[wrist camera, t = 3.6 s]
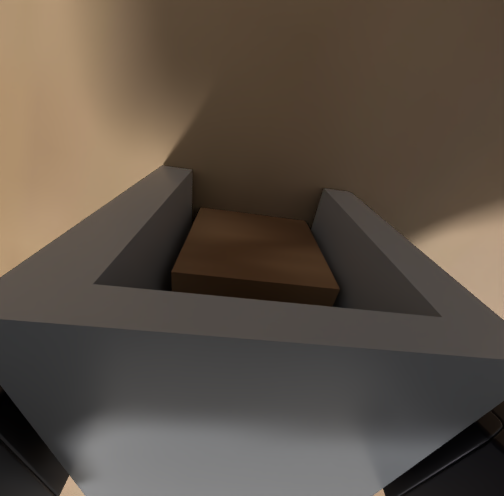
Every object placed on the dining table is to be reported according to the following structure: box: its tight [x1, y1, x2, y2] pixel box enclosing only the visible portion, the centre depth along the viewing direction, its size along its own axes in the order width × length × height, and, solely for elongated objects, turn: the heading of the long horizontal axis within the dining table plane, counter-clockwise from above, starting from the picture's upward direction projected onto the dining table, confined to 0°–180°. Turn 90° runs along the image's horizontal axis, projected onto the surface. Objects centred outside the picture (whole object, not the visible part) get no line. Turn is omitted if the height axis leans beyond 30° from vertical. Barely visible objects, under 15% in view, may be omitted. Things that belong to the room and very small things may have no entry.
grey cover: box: [0, 165, 504, 496], centre depth 7 cm, size 7×7×6 cm
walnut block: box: [171, 207, 340, 307], centre depth 8 cm, size 4×4×4 cm
